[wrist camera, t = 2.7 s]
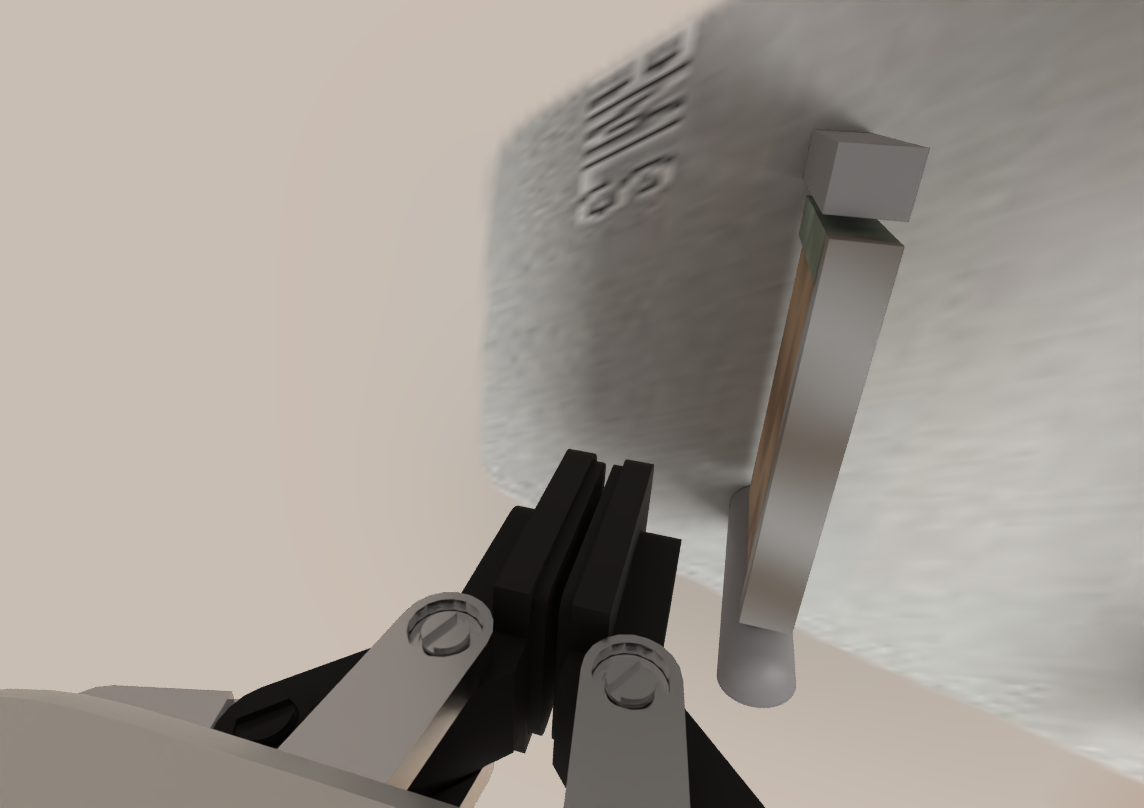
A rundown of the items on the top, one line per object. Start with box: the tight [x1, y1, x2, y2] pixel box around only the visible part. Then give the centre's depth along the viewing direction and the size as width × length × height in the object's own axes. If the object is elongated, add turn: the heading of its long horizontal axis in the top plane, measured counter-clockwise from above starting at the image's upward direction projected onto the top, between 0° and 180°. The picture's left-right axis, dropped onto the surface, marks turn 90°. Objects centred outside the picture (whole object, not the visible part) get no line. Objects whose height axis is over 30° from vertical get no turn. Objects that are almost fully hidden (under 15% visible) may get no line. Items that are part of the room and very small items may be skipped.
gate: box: [739, 196, 904, 635], centre depth 25 cm, size 15×2×10 cm, turn 177°
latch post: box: [803, 130, 930, 222], centre depth 22 cm, size 2×2×10 cm
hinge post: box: [717, 486, 796, 708], centre depth 30 cm, size 3×3×12 cm
